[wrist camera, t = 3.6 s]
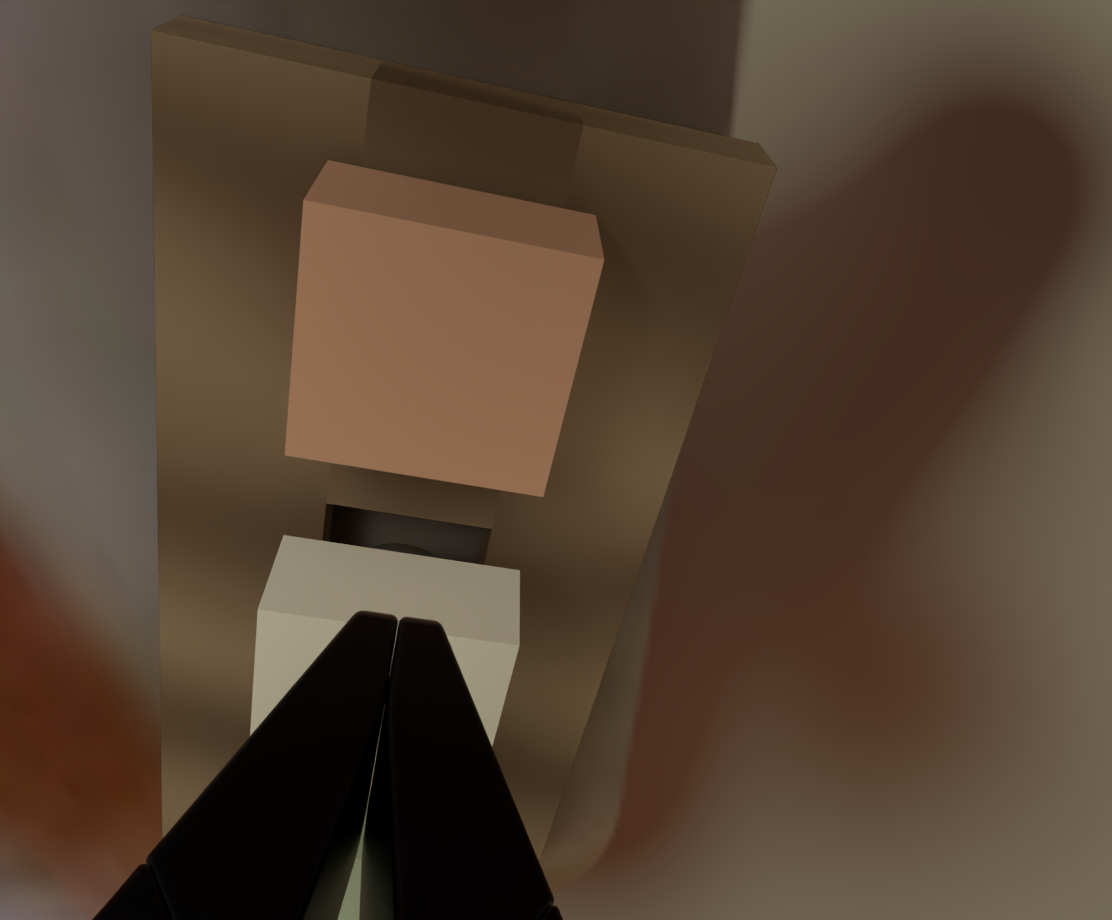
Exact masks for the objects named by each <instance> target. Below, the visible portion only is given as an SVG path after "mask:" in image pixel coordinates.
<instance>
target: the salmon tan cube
mask: <svg viewBox="0 0 1112 920" xmlns="http://www.w3.org/2000/svg"><path fill="white" fill-rule="evenodd" d="M603 263H604V255H603V250H602V245H601V239H600V234H599V229H598V224H597V219H596V215H593V214H588V213H583V212H578V211H573V210H568V209H563V208H559V207H554V206H549V205H544V204H539V203H534V202H529V201H524V200H520V199H515V198H510V197H505V196H500V195H495V194H490V193H486V192H481V191H476V190H471V189H466V188H461V187H456V186H452V185H447V184H442V183H437V182H432V181H427V180H422V179H418V178H413V177H408V176H403V175H398V174H393V173H388V172H384V171H379V170H374V169H369V168H364V167H359V166H354V165H350V164H345V163H340V162H335V161H330V160H328V161H327V163H326V164H325V166H324V167H323V169H322V171H321V172H320V174H319V175H318V177H317V179H316V180H315V182H314V183H313V185H312V187H311V188H310V190H309V192H308V193H307V195H306V196H305V198H304V200H303V212H302V226H301V239H300V253H299V267H298V280H297V294H296V308H295V321H294V335H293V348H292V362H291V376H290V389H289V403H288V417H287V430H286V444H285V456H292V457H298V458H304V459H310V460H316V461H323V462H329V463H335V464H341V465H347V466H354V467H360V468H366V469H372V470H378V471H385V472H391V473H397V474H403V475H409V476H416V477H422V478H428V479H434V480H440V481H447V482H453V483H459V484H465V485H471V486H478V487H484V488H490V489H496V490H502V491H509V492H515V493H521V494H527V495H533V496H540V497H543V496H544V492H545V488H546V485H547V481H548V477H549V473H550V469H551V465H552V461H553V457H554V453H555V450H556V446H557V442H558V438H559V434H560V430H561V426H562V422H563V419H564V415H565V411H566V407H567V403H568V399H569V395H570V391H571V387H572V384H573V380H574V376H575V372H576V368H577V364H578V360H579V356H580V353H581V349H582V345H583V341H584V337H585V333H586V329H587V325H588V321H589V318H590V314H591V310H592V306H593V302H594V298H595V294H596V290H597V287H598V283H599V279H600V275H601V271H602V267H603Z"/></svg>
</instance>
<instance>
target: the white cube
mask: <svg viewBox="0 0 1112 920" xmlns="http://www.w3.org/2000/svg"><path fill="white" fill-rule="evenodd" d="M361 610H364V611H372V612H379V613H386V614H392V615H395V616H396V617H397V619H398V623H399V621H400V620H401V618H403V617H414V618H421V619H428V620H435V621H438V622H439V623H440V624H441V625H442V626H443V628H444V630H445V633H446V635H447V638H448V640H449V642H450V645H451V647H452V650H453V652H454V655H455V657H456V660H457V662H458V665H459V667H460V669H461V672H462V674H463V677H464V679H465V682H466V684H467V687H468V689H469V692H470V694H471V696H472V699H473V701H474V704H475V706H476V709H477V711H478V714H479V716H480V718H481V721H482V723H483V726H484V728H485V731H486V733H487V736H488V738H489V741H490V743H491V745H492V746H493V742H494V739H495V735H496V731H497V727H498V724H499V720H500V716H501V713H502V709H503V705H504V701H505V698H506V694H507V690H508V687H509V683H510V679H511V675H512V672H513V668H514V664H515V661H516V657H517V653H518V649H519V646H520V570H514V569H507V568H501V567H494V566H487V565H481V564H474V563H467V562H461V561H454V560H447V559H441V558H437V557H436V556H434V555H433V554H431V553H430V552H428V551H426V550H423V549H421V548H418V547H415V546H411V545H406V544H382V545H378V546H374V547H371V548H367V547H360V546H354V545H347V544H340V543H334V542H327V541H320V540H314V539H307V538H300V537H294V536H287V535H283V538H282V541H281V544H280V547H279V550H278V553H277V555H276V558H275V561H274V564H273V567H272V570H271V573H270V575H269V578H268V581H267V584H266V587H265V590H264V593H263V596H262V598H261V601H260V604H259V607H258V612H257V629H256V645H255V661H254V678H253V694H252V710H251V726H250V735H251V734H252V733H253V732H254V731H255V730H256V728H257V727H258V726H259V725H260V724H261V723H262V721H263V720H264V719H265V718H266V717H267V715H268V714H269V713H270V712H271V711H272V710H273V708H274V707H275V706H276V705H277V704H278V703H279V701H280V700H281V699H282V698H283V697H284V696H285V694H286V693H287V692H288V691H289V690H290V688H291V687H292V686H293V685H294V684H295V683H296V681H297V680H298V679H299V678H300V677H301V676H302V674H303V673H304V672H305V671H306V670H307V669H308V667H309V666H310V665H311V664H312V663H313V661H314V660H315V659H316V658H317V657H318V656H319V654H320V653H321V652H322V651H323V650H324V649H325V647H326V646H327V645H328V644H329V643H330V642H331V640H332V639H333V638H334V637H335V636H336V634H337V633H338V632H339V631H340V630H341V629H342V627H343V626H344V625H345V624H346V623H347V622H348V620H349V619H350V618H351V617H352V616H353V615H354V614H355V613H356V612H358V611H361ZM397 629H398V626H397ZM396 635H397V633H396ZM395 641H396V639H395ZM394 647H395V645H394ZM393 652H394V651H393ZM392 658H393V657H392ZM391 664H392V663H391ZM390 670H391V669H390ZM389 676H390V675H389ZM388 682H389V681H388ZM379 735H380V734H379ZM378 741H379V740H378ZM377 747H378V746H377ZM376 753H377V752H376ZM375 759H376V758H375ZM374 765H375V763H374ZM373 771H374V769H373ZM372 777H373V775H372ZM371 783H372V781H371ZM370 789H371V787H370ZM369 794H370V793H369Z"/></svg>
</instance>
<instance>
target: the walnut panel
mask: <svg viewBox="0 0 1112 920" xmlns="http://www.w3.org/2000/svg"><path fill="white" fill-rule="evenodd" d="M151 62H152V133H153V204H154V276H155V347H156V418H157V489H158V560H159V631H160V702H161V773H162V837H163V838H164V836H165V835H166V834H167V833H168V832H169V831H170V829H171V828H172V827H173V826H174V825H175V823H176V822H177V821H178V820H179V819H180V818H181V816H182V815H183V814H184V813H185V812H186V811H187V809H188V808H189V807H190V806H191V805H192V804H193V802H194V801H195V800H196V799H197V798H198V796H199V795H200V794H201V793H202V792H203V791H204V789H205V788H206V787H207V786H208V785H209V784H210V782H211V781H212V780H213V779H214V778H215V777H216V775H217V774H218V773H219V772H220V771H221V769H222V768H223V767H224V766H225V765H226V764H227V762H228V761H229V760H230V759H231V758H232V757H233V755H234V754H235V753H236V752H237V751H238V750H239V748H240V747H241V746H242V745H243V744H244V742H245V741H246V740H247V739H248V738H249V737H250V726H251V710H252V694H253V678H254V661H255V645H256V629H257V612H258V607H259V604H260V601H261V598H262V596H263V593H264V590H265V587H266V584H267V581H268V578H269V575H270V573H271V570H272V567H273V564H274V561H275V558H276V555H277V553H278V550H279V547H280V544H281V541H282V538H283V535H287V536H294V537H300V538H307V539H314V540H320V541H327V542H330V535H331V526H332V517H333V508H334V505H340V506H347V507H353V508H359V509H366V510H372V511H379V512H385V513H392V514H398V515H404V516H411V517H417V518H424V519H430V520H437V521H443V522H450V523H456V524H462V525H469V526H475V527H482V528H485V530H484V535H483V539H482V544H481V548H480V553H479V557H478V562H477V564H481V565H487V566H494V567H501V568H507V569H514V570H520V646H519V649H518V653H517V657H516V661H515V664H514V668H513V672H512V675H511V679H510V683H509V687H508V690H507V694H506V698H505V701H504V705H503V709H502V713H501V716H500V720H499V724H498V727H497V731H496V735H495V739H494V742H493V746H492V748H493V750H494V753H495V755H496V758H497V760H498V763H499V765H500V768H501V770H502V772H503V775H504V777H505V780H506V782H507V785H508V787H509V790H510V792H511V794H512V797H513V799H514V802H515V804H516V807H517V809H518V812H519V814H520V817H521V819H522V821H523V824H524V826H525V829H526V831H527V834H528V836H529V839H530V841H531V844H532V846H533V848H534V851H535V853H536V856H537V858H538V861H540V858H541V855H542V852H543V850H544V847H545V844H546V841H547V838H548V835H549V832H550V829H551V826H552V823H553V820H554V817H555V815H556V812H557V809H558V806H559V803H560V800H561V797H562V794H563V791H564V788H565V785H566V783H567V780H568V777H569V774H570V771H571V768H572V765H573V762H574V759H575V756H576V753H577V750H578V748H579V745H580V742H581V739H582V736H583V733H584V730H585V727H586V724H587V721H588V718H589V715H590V713H591V710H592V707H593V704H594V701H595V698H596V695H597V692H598V689H599V686H600V683H601V680H602V678H603V675H604V672H605V669H606V666H607V663H608V660H609V657H610V654H611V651H612V648H613V645H614V643H615V640H616V637H617V634H618V631H619V628H620V625H621V622H622V619H623V616H624V613H625V610H626V608H627V605H628V602H629V599H630V596H631V593H632V590H633V587H634V584H635V581H636V578H637V575H638V573H639V570H640V567H641V564H642V561H643V558H644V555H645V552H646V549H647V546H648V543H649V540H650V538H651V535H652V532H653V529H654V526H655V523H656V520H657V517H658V514H659V511H660V508H661V505H662V503H663V500H664V497H665V494H666V491H667V488H668V485H669V482H670V479H671V476H672V473H673V470H674V468H675V465H676V462H677V459H678V456H679V453H680V450H681V447H682V444H683V441H684V438H685V436H686V433H687V430H688V427H689V424H690V421H691V418H692V415H693V412H694V409H695V406H696V403H697V400H698V398H699V394H700V392H701V389H702V386H703V383H704V380H705V377H706V374H707V371H708V368H709V365H710V363H711V360H712V357H713V354H714V351H715V348H716V345H717V342H718V339H719V336H720V333H721V331H722V327H723V325H724V322H725V319H726V315H727V313H728V310H729V307H730V304H731V301H732V298H733V295H734V292H735V290H736V287H737V284H738V281H739V278H740V275H741V272H742V269H743V266H744V263H745V261H746V258H747V255H748V252H749V249H750V246H751V243H752V240H753V237H754V234H755V231H756V228H757V226H758V223H759V220H760V217H761V214H762V211H763V208H764V205H765V202H766V199H767V196H768V193H769V191H770V188H771V184H772V182H773V179H774V176H775V173H776V170H777V167H776V165H775V164H774V163H773V161H772V160H771V159H770V158H769V156H768V155H767V154H766V152H765V151H764V150H763V149H762V147H761V146H760V145H759V144H758V143H754V142H749V141H745V140H740V139H736V138H731V137H727V136H722V135H718V134H713V133H709V132H704V131H700V130H695V129H691V128H686V127H682V126H677V125H673V124H668V123H664V122H659V121H655V120H650V119H646V118H641V117H637V116H632V115H628V114H623V113H619V112H614V111H610V110H605V109H601V108H596V107H592V106H587V105H583V104H578V103H574V102H569V101H565V100H560V99H556V98H551V97H547V96H542V95H538V94H533V93H529V92H524V91H520V90H515V89H511V88H506V87H502V86H497V85H493V84H488V83H484V82H479V81H475V80H470V79H466V78H461V77H457V76H452V75H448V74H443V73H439V72H434V71H430V70H425V69H421V68H416V67H412V66H407V65H403V64H398V63H394V62H390V61H385V60H381V59H376V58H372V57H367V56H363V55H358V54H354V53H349V52H345V51H340V50H336V49H331V48H327V47H322V46H318V45H313V44H309V43H304V42H300V41H295V40H291V39H286V38H282V37H277V36H273V35H268V34H264V33H259V32H255V31H250V30H246V29H241V28H237V27H232V26H228V25H223V24H219V23H214V22H210V21H205V20H201V19H196V18H192V17H187V16H183V15H181V16H179V17H177V18H175V19H173V20H171V21H169V22H167V23H165V24H163V25H161V26H159V27H157V28H155V29H153V30H151ZM328 160H330V161H335V162H340V163H345V164H350V165H354V166H359V167H364V168H369V169H374V170H379V171H384V172H388V173H393V174H398V175H403V176H408V177H413V178H418V179H422V180H427V181H432V182H437V183H442V184H447V185H452V186H456V187H461V188H466V189H471V190H476V191H481V192H486V193H490V194H495V195H500V196H505V197H510V198H515V199H520V200H524V201H529V202H534V203H539V204H544V205H549V206H554V207H559V208H563V209H568V210H573V211H578V212H583V213H588V214H593V215H596V219H597V224H598V229H599V234H600V239H601V245H602V250H603V255H604V263H603V267H602V271H601V275H600V279H599V283H598V287H597V290H596V294H595V298H594V302H593V306H592V310H591V314H590V318H589V321H588V325H587V329H586V333H585V337H584V341H583V345H582V349H581V353H580V356H579V360H578V364H577V368H576V372H575V376H574V380H573V384H572V387H571V391H570V395H569V399H568V403H567V407H566V411H565V415H564V419H563V422H562V426H561V430H560V434H559V438H558V442H557V446H556V450H555V453H554V457H553V461H552V465H551V469H550V473H549V477H548V481H547V485H546V488H545V492H544V496H543V497H540V496H533V495H527V494H521V493H515V492H509V491H502V490H496V489H490V488H484V487H478V486H471V485H465V484H459V483H453V482H447V481H440V480H434V479H428V478H422V477H416V476H409V475H403V474H397V473H391V472H385V471H378V470H372V469H366V468H360V467H354V466H347V465H341V464H335V463H329V462H323V461H316V460H310V459H304V458H298V457H292V456H285V444H286V430H287V417H288V403H289V389H290V376H291V362H292V348H293V335H294V321H295V308H296V294H297V280H298V267H299V253H300V239H301V226H302V212H303V200H304V198H305V196H306V195H307V193H308V192H309V190H310V188H311V187H312V185H313V183H314V182H315V180H316V179H317V177H318V175H319V174H320V172H321V171H322V169H323V167H324V166H325V164H326V163H327V161H328Z"/></svg>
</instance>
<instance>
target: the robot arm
mask: <svg viewBox="0 0 1112 920" xmlns="http://www.w3.org/2000/svg"><path fill="white" fill-rule="evenodd" d="M397 626H398V629H397ZM396 633H397V635H396ZM395 639H396V641H395ZM394 645H395V647H394ZM393 651H394V652H393ZM392 657H393V658H392ZM391 663H392V664H391ZM390 669H391V670H390ZM389 675H390V676H389ZM388 681H389V682H388ZM379 734H380V735H379ZM378 740H379V741H378ZM377 746H378V747H377ZM376 752H377V753H376ZM375 758H376V759H375ZM374 763H375V765H374ZM373 769H374V771H373ZM372 775H373V777H372ZM371 781H372V783H371ZM370 787H371V789H370ZM369 793H370V795H369ZM368 798H369V801H368ZM367 804H368V807H367ZM366 810H367V813H366ZM365 815H366V821H365V828H364V836H363V848H362V863H361V887H360V911H359V920H563V919H562V916H561V914H560V911H559V909H558V907H556V906H553V903H554V898H553V895H552V893H551V890H550V888H549V885H548V883H547V880H546V878H545V875H544V873H543V870H542V868H541V866H540V863H539V861H538V858H537V856H536V853H535V851H534V848H533V846H532V844H531V841H530V839H529V836H528V834H527V831H526V829H525V826H524V824H523V821H522V819H521V817H520V814H519V812H518V809H517V807H516V804H515V802H514V799H513V797H512V794H511V792H510V790H509V787H508V785H507V782H506V780H505V777H504V775H503V772H502V770H501V768H500V765H499V763H498V760H497V758H496V755H495V753H494V750H493V748H492V745H491V743H490V741H489V738H488V736H487V733H486V731H485V728H484V726H483V723H482V721H481V718H480V716H479V714H478V711H477V709H476V706H475V704H474V701H473V699H472V696H471V694H470V692H469V689H468V687H467V684H466V682H465V679H464V677H463V674H462V672H461V669H460V667H459V665H458V662H457V660H456V657H455V655H454V652H453V650H452V647H451V645H450V642H449V640H448V638H447V635H446V633H445V630H444V628H443V626H442V625H441V624H440V623H439V622H438V621H435V620H428V619H421V618H414V617H403V618H401V620H400V621H399V623H398V619H397V617H396V616H395V615H392V614H386V613H379V612H372V611H364V610H361V611H358V612H356V613H355V614H354V615H353V616H352V617H351V618H350V619H349V620H348V622H347V623H346V624H345V625H344V626H343V627H342V629H341V630H340V631H339V632H338V633H337V634H336V636H335V637H334V638H333V639H332V640H331V642H330V643H329V644H328V645H327V646H326V647H325V649H324V650H323V651H322V652H321V653H320V654H319V656H318V657H317V658H316V659H315V660H314V661H313V663H312V664H311V665H310V666H309V667H308V669H307V670H306V671H305V672H304V673H303V674H302V676H301V677H300V678H299V679H298V680H297V681H296V683H295V684H294V685H293V686H292V687H291V688H290V690H289V691H288V692H287V693H286V694H285V696H284V697H283V698H282V699H281V700H280V701H279V703H278V704H277V705H276V706H275V707H274V708H273V710H272V711H271V712H270V713H269V714H268V715H267V717H266V718H265V719H264V720H263V721H262V723H261V724H260V725H259V726H258V727H257V728H256V730H255V731H254V732H253V733H252V734H251V735H250V737H249V738H248V739H247V740H246V741H245V742H244V744H243V745H242V746H241V747H240V748H239V750H238V751H237V752H236V753H235V754H234V755H233V757H232V758H231V759H230V760H229V761H228V762H227V764H226V765H225V766H224V767H223V768H222V769H221V771H220V772H219V773H218V774H217V775H216V777H215V778H214V779H213V780H212V781H211V782H210V784H209V785H208V786H207V787H206V788H205V789H204V791H203V792H202V793H201V794H200V795H199V796H198V798H197V799H196V800H195V801H194V802H193V804H192V805H191V806H190V807H189V808H188V809H187V811H186V812H185V813H184V814H183V815H182V816H181V818H180V819H179V820H178V821H177V822H176V823H175V825H174V826H173V827H172V828H171V829H170V831H169V832H168V833H167V834H166V835H165V836H164V838H163V839H162V840H161V841H160V842H159V843H158V845H157V846H156V847H155V848H154V849H153V850H152V852H151V853H150V854H149V855H148V857H147V859H146V864H141V865H139V866H138V867H137V869H136V870H135V871H134V872H133V873H132V875H131V876H130V877H129V878H128V879H127V880H126V882H125V883H124V884H123V885H122V886H121V887H120V889H119V890H118V891H117V892H116V893H115V894H114V896H113V897H112V898H111V899H110V900H109V901H108V903H107V904H106V905H105V906H104V907H103V908H102V909H101V910H100V911H99V913H98V914H97V915H96V916H95V917H94V918H93V919H92V920H338V916H339V913H340V909H341V906H342V903H343V899H344V896H345V892H346V889H347V886H348V882H349V879H350V876H351V872H352V869H353V865H354V862H355V858H356V855H357V851H358V847H359V843H360V840H361V835H362V830H363V825H364V820H365Z"/></svg>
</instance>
